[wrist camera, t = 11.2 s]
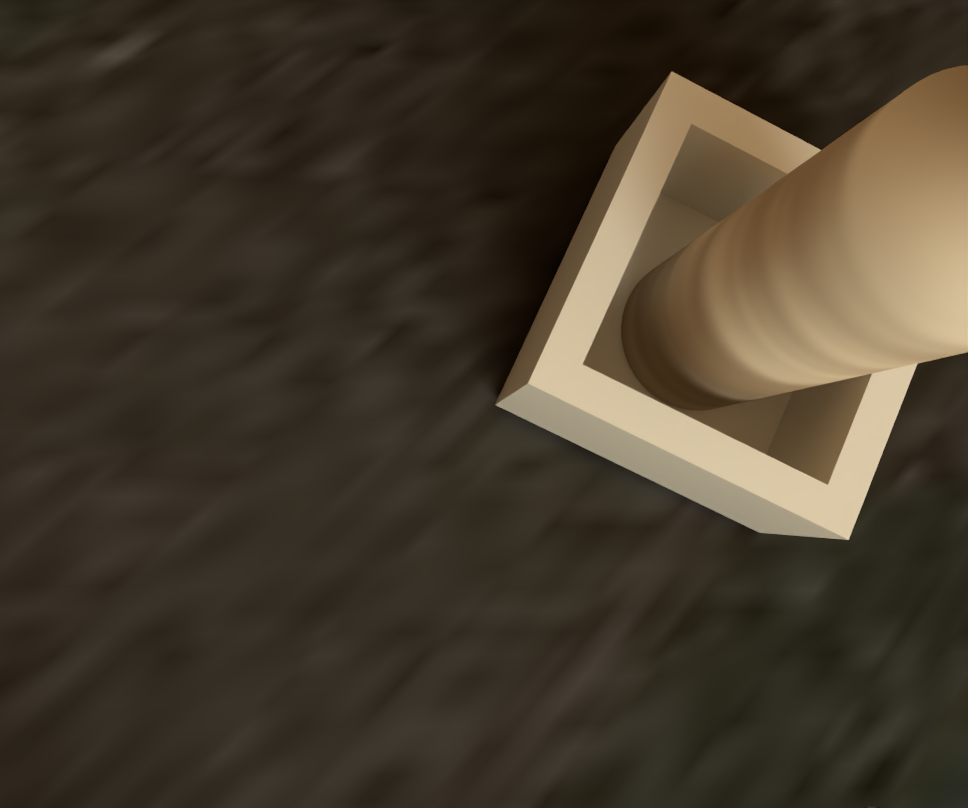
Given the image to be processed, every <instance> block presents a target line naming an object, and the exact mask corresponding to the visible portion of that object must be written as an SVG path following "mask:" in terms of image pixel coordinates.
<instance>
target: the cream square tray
mask: <svg viewBox="0 0 968 808" xmlns="http://www.w3.org/2000/svg"><path fill="white" fill-rule="evenodd" d="M819 151H821V150H820V149H818V148H816V147H814V146H812V145H810V144H809V143H807V142H805V141H803V140H801V139H799V138H797V137H795V136H793V135H792V134H790V133H788V132H786V131H784V130H782V129H780V128H778V127H776V126H774V125H773V124H771V123H769V122H767V121H765V120H763V119H761V118H759V117H757V116H755V115H754V114H752V113H750V112H748V111H746V110H744V109H742V108H740V107H738V106H737V105H735V104H733V103H731V102H729V101H727V100H725V99H723V98H721V97H719V96H718V95H716V94H714V93H712V92H710V91H708V90H706V89H704V88H702V87H701V86H699V85H697V84H695V83H693V82H691V81H689V80H687V79H685V78H683V77H682V76H680V75H678V74H676V73H674V72H672V71H671V73H670V74H669V75H668V77H667V78H666V79H665V81H664V82H663V83H662V85H661V86H660V87H659V89H658V90H657V91H656V93H655V94H654V95H653V97H652V98H651V99H650V101H649V102H648V103H647V105H646V106H645V107H644V109H643V110H642V111H641V113H640V114H639V115H638V117H637V118H636V119H635V121H634V122H633V123H632V125H631V126H630V127H629V129H628V130H627V131H626V133H625V134H624V135H623V137H622V138H621V139H620V141H619V142H618V143H617V145H616V146H615V148H614V150H613V152H612V154H611V156H610V159H609V161H608V163H607V165H606V167H605V169H604V171H603V174H602V176H601V178H600V180H599V182H598V184H597V187H596V189H595V191H594V193H593V195H592V197H591V199H590V202H589V204H588V206H587V208H586V210H585V212H584V215H583V217H582V219H581V221H580V223H579V225H578V227H577V230H576V232H575V234H574V236H573V238H572V240H571V242H570V245H569V247H568V249H567V251H566V253H565V255H564V258H563V260H562V262H561V264H560V266H559V268H558V270H557V273H556V275H555V277H554V279H553V281H552V283H551V286H550V288H549V290H548V292H547V294H546V296H545V298H544V301H543V303H542V305H541V307H540V309H539V311H538V313H537V316H536V318H535V320H534V322H533V324H532V326H531V329H530V331H529V333H528V335H527V337H526V339H525V341H524V344H523V346H522V348H521V350H520V352H519V354H518V357H517V359H516V361H515V363H514V365H513V367H512V369H511V372H510V374H509V376H508V378H507V380H506V382H505V385H504V387H503V389H502V391H501V393H500V395H499V397H498V400H497V402H496V404H495V405H497V406H499V407H501V408H503V409H505V410H507V411H509V412H511V413H513V414H515V415H517V416H519V417H521V418H523V419H526V420H528V421H530V422H532V423H534V424H536V425H538V426H540V427H542V428H544V429H546V430H548V431H550V432H552V433H554V434H557V435H559V436H561V437H563V438H565V439H567V440H569V441H571V442H573V443H575V444H577V445H579V446H581V447H583V448H585V449H588V450H590V451H592V452H594V453H596V454H598V455H600V456H602V457H604V458H606V459H608V460H610V461H612V462H614V463H617V464H619V465H621V466H623V467H625V468H627V469H629V470H631V471H633V472H635V473H637V474H639V475H641V476H643V477H645V478H648V479H650V480H652V481H654V482H656V483H658V484H660V485H662V486H664V487H666V488H668V489H670V490H672V491H674V492H676V493H679V494H681V495H683V496H685V497H687V498H689V499H691V500H693V501H695V502H697V503H699V504H701V505H703V506H705V507H708V508H710V509H712V510H714V511H716V512H718V513H720V514H722V515H724V516H726V517H728V518H730V519H732V520H734V521H736V522H739V523H741V524H743V525H745V526H747V527H749V528H751V529H753V530H755V531H757V532H759V533H771V534H784V535H796V536H808V537H821V538H833V539H845V540H849V537H850V535H851V532H852V530H853V527H854V524H855V522H856V519H857V517H858V514H859V512H860V509H861V507H862V504H863V501H864V499H865V496H866V494H867V491H868V489H869V486H870V483H871V481H872V478H873V476H874V473H875V471H876V468H877V466H878V463H879V460H880V458H881V455H882V453H883V450H884V448H885V445H886V442H887V440H888V437H889V435H890V432H891V430H892V427H893V424H894V422H895V419H896V417H897V414H898V412H899V409H900V407H901V404H902V401H903V399H904V396H905V394H906V391H907V389H908V386H909V383H910V381H911V378H912V376H913V373H914V371H915V368H916V366H917V364H912V365H908V366H903V367H899V368H894V369H890V370H885V371H881V372H876V373H872V374H867V375H863V376H858V377H854V378H849V379H845V380H840V381H836V382H832V383H827V384H823V385H818V386H814V387H809V388H805V389H800V390H796V391H791V392H787V393H782V394H778V395H773V396H769V397H764V398H760V399H755V400H751V401H746V402H742V403H737V404H733V405H728V406H724V407H720V408H715V409H710V410H687V409H682V408H678V407H675V406H672V405H670V404H668V403H665V402H663V401H662V400H660V399H659V398H657V397H655V396H654V395H653V394H652V393H650V392H649V391H648V390H647V389H646V388H645V387H644V386H643V385H642V384H641V383H640V381H639V380H638V379H637V377H636V376H635V375H634V373H633V371H632V369H631V368H630V366H629V364H628V361H627V359H626V356H625V352H624V349H623V344H622V337H621V325H622V317H623V312H624V308H625V305H626V303H627V300H628V298H629V296H630V294H631V292H632V291H633V289H634V288H635V286H636V285H637V284H638V282H639V281H640V280H641V279H642V278H643V277H644V276H645V275H646V274H648V273H649V272H650V271H652V270H653V269H654V268H656V267H657V266H658V265H660V264H661V263H663V262H664V261H666V260H667V259H668V258H670V257H671V256H673V255H674V254H675V253H677V252H678V251H680V250H681V249H682V248H684V247H685V246H687V245H688V244H690V243H691V242H692V241H694V240H695V239H697V238H698V237H699V236H701V235H702V234H704V233H705V232H706V231H708V230H709V229H711V228H712V227H714V226H715V225H716V224H718V223H719V222H721V221H722V220H723V219H725V218H726V217H728V216H729V215H731V214H732V213H733V212H735V211H736V210H738V209H739V208H740V207H742V206H743V205H745V204H746V203H747V202H749V201H750V200H752V199H753V198H755V197H756V196H757V195H759V194H760V193H762V192H763V191H764V190H766V189H767V188H769V187H770V186H771V185H773V184H774V183H776V182H777V181H779V180H780V179H781V178H783V177H784V176H786V175H787V174H788V173H790V172H791V171H793V170H794V169H795V168H797V167H798V166H800V165H801V164H803V163H804V162H805V161H807V160H808V159H810V158H811V157H812V156H814V155H815V154H817V153H818V152H819Z"/></svg>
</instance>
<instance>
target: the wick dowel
mask: <svg viewBox="0 0 968 808" xmlns="http://www.w3.org/2000/svg"><path fill="white" fill-rule="evenodd" d="M621 337H622V344H623V349H624V352H625V356H626V359H627V361H628V364H629V366H630V368H631V369H632V371H633V373H634V375H635V376H636V377H637V379H638V380H639V381H640V383H641V384H642V385H643V386H644V387H645V388H646V389H647V390H648V391H649V392H650V393H652V394H653V395H654V396H655V397H657V398H659V399H660V400H662V401H663V402H665V403H668V404H670V405H672V406H675V407H678V408H682V409H687V410H710V409H715V408H720V407H724V406H728V405H733V404H737V403H742V402H746V401H751V400H755V399H760V398H764V397H769V396H773V395H778V394H782V393H787V392H791V391H796V390H800V389H805V388H809V387H814V386H818V385H823V384H827V383H832V382H836V381H840V380H845V379H849V378H854V377H858V376H863V375H867V374H872V373H876V372H881V371H885V370H890V369H894V368H899V367H903V366H908V365H912V364H917V363H921V362H926V361H930V360H935V359H939V358H944V357H948V356H952V355H957V354H961V353H966V352H968V66H959V67H954V68H950V69H945V70H943V71H940V72H937V73H935V74H932V75H930V76H928V77H926V78H924V79H922V80H921V81H919V82H917V83H915V84H914V85H913V86H911V87H910V88H908V89H907V90H906V91H904V92H903V93H901V94H900V95H899V96H897V97H896V98H894V99H893V100H891V101H890V102H889V103H887V104H886V105H884V106H883V107H882V108H880V109H879V110H877V111H876V112H875V113H873V114H872V115H870V116H869V117H867V118H866V119H865V120H863V121H862V122H860V123H859V124H858V125H856V126H855V127H853V128H852V129H851V130H849V131H848V132H846V133H845V134H843V135H842V136H841V137H839V138H838V139H836V140H835V141H834V142H832V143H831V144H829V145H828V146H827V147H825V148H824V149H822V150H821V151H819V152H818V153H817V154H815V155H814V156H812V157H811V158H810V159H808V160H807V161H805V162H804V163H803V164H801V165H800V166H798V167H797V168H795V169H794V170H793V171H791V172H790V173H788V174H787V175H786V176H784V177H783V178H781V179H780V180H779V181H777V182H776V183H774V184H773V185H771V186H770V187H769V188H767V189H766V190H764V191H763V192H762V193H760V194H759V195H757V196H756V197H755V198H753V199H752V200H750V201H749V202H747V203H746V204H745V205H743V206H742V207H740V208H739V209H738V210H736V211H735V212H733V213H732V214H731V215H729V216H728V217H726V218H725V219H723V220H722V221H721V222H719V223H718V224H716V225H715V226H714V227H712V228H711V229H709V230H708V231H706V232H705V233H704V234H702V235H701V236H699V237H698V238H697V239H695V240H694V241H692V242H691V243H690V244H688V245H687V246H685V247H684V248H682V249H681V250H680V251H678V252H677V253H675V254H674V255H673V256H671V257H670V258H668V259H667V260H666V261H664V262H663V263H661V264H660V265H658V266H657V267H656V268H654V269H653V270H652V271H650V272H649V273H648V274H646V275H645V276H644V277H643V278H642V279H641V280H640V281H639V282H638V284H637V285H636V286H635V288H634V289H633V291H632V292H631V294H630V296H629V298H628V300H627V303H626V305H625V308H624V312H623V317H622V325H621Z"/></svg>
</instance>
